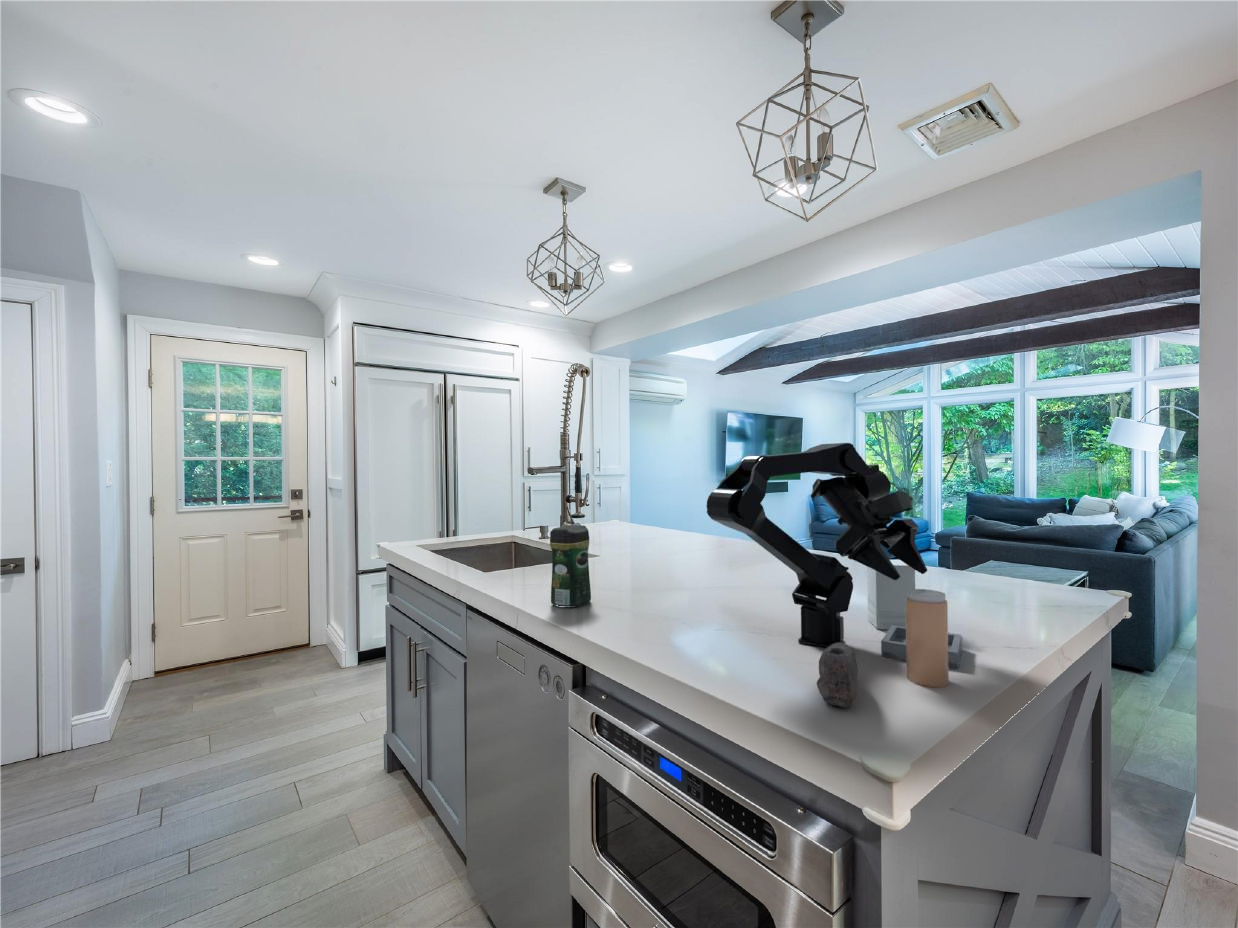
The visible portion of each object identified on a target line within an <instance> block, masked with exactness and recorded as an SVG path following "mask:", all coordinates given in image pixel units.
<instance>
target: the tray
mask: <svg viewBox="0 0 1238 928" xmlns="http://www.w3.org/2000/svg"><path fill="white" fill-rule="evenodd" d="M962 643H963V641H962V634H959V633H951V632H948V668H950V669H956V670H958V669H959V665H960V659H961V655H962V654H961V653H962V650H963V648H962V647H963V645H962ZM880 645H881V647H880V650H881V651H880V653H881V654H880V655H881V657H885V658H890V659H891V658H892V659H897V660H903V661H906V627H901V626H894V625H891V627H890V628H889V630H888V629H887V632H886V633H885V635H884V636H883V638H882V640H881V641H880Z"/></svg>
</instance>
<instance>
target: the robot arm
mask: <svg viewBox="0 0 1238 928" xmlns="http://www.w3.org/2000/svg"><path fill="white" fill-rule="evenodd" d="M879 465H880V464H867V463H866V461H865V460H864V459H863V457H861V455H860V453H859V452H858V451H857V450H856V447H854V444H853V443H850V442H840V443H839V442H838V443H822V444H819V445H815V446H812V447H810V448H808V449H806V450H805V451H804V450H803V451H799V452H798V451H797V452H790V453H779V454H778V453H777V454H770V455H769V454H768V455H747V456H745V457H744V458H743V459H742V460H741V461H740V462H739V464H738V466H737V467H736V468H735V469H734V470H732V471H731V473H729V474H728V475H727V476H726V477H725V478H723V479H722V480H721V481H720V483H719V484H718V486H717V487H716V489H714V490H713V491H712V492H711V493H710V494H709V495H708V497H707V500H706V514H707V516H709V518H710V519H711V520H712V521H714V522H717V523H719V524H720V525H723V526H725V527H727V528H730V529H732V530H735V531H737V532H740V533H743V534H744V535H746V536H748V537H749V538H750V539H751V540H753V541H754V542H755V543H756V544H758V545H759V546H760V547H762V548H763V549H764V550H766V551H767V552H768V553H770V554H771V555H772V556H773V557H775V558H776V559H777V560H778V561H780V562H781V563H783V564H784V565H785V566H786V567H788V568H789V569H791V571H793V572H794V573H795V574H796V577H797V580H798V584H797V586H796V587H795V589H793V591H792V593H791V597H792V600H793V603H794V605H799V606H800V637H799V638H798V639H797V641H798V643H800V644H804V645H805V644H806V645H811V646H816V647H817V646H818V647H823V648H827V647H829V646H830V645H831V644H834V643H838V642H841V643H843V642H842V641H844V639H845V631H844V630H845V627H844V626H845V625H844V624H845V623H844V621H845V620H844V617H843V616H842V615H841V613H844V612H848V611H849V606H850V602H851V598H852V595H853V590H854V581H853V576H852V574H851V573H850V572H849V571H848V570H849V567H848V566H845V565H843V564H842V563H841V562H840V560H839V559H838V558H836V557H835V556H831V555H825V554H821V553H814V552H810V551H809V550H808V549H807V548H805V547H804V546H803V545H801V544H800V543H799V542H798V541H797V540H796V539H794V538H793V537H792V536H790V535H789V534H788V533H787V532H785V531H784V530H783V529H782V528H780V527H779V526H778V525H776V523H774V522H773V521H772V520H771V519H769V518H768V517H767V516H766V512H765V508H764V506H763V505H762V501H763V500H764V498H765V497H766V492H767V485H768V482H769V480H770V479H771V478H772V477H780V476H788V475H790V476H791V475H797V474H806V473H812V474H820V475H821V474H822V475H830V476H832V478H827V479H820V478H817V479H816V480H815V481H814V483H813V484H812V491H811V495H810V497H811V498H812V499H815V498H819V497H821V498H822V499H823V500H824V501H825V502H826V503H827V505H828V506H829V507H830V508H831V509H832V511H833V512H834V513H835V514H836V515H837V516H838V517H839V518H838V519H837V521H836V522H837V523H838V524H839V526H846V527H847V528H846V529H845V530H844V531H843V532H842V533H841V534H840V535H839V536H838V537H837V538H836V539H835V540H834V549H835V550H836V551H837V552H838V553H837V554H839V555H840V556H841V557H842V558H843V557H847V559H849V560H852V561H855V562H857V563H859V564H861V565H863V566H866V568H867V567H869V568H871V569H874V570H876V571H877V572H879V573H881V574H883V575H885V576H887V577H889V578H891V579H893V580H897V579H899V578H900V575H899V573H898V571H897V570H896V568H895V567H894V565H893V564H892V563H891V561H890V560H891V559H889V557H888V556H887V555H886V553H885V551H884V550H883V548H885V549H887V553H889V554H890V555H892V556H893V557H895V558H897V560H901V561H902V562H904V563H905V564H907V565H908V566H910V567H911V568H913V569H915V572H918V573H920V574H921V575H924V574H926V573H927V572H928V568H927V566H926V564H925V562H924V560H923V557H922V555H921V553H920V551H919V550H918V549H919V548H918V547H917V545H916V537H917V534H918V529H919V525H918V524H917V523H916V522H915V521H914V520H913V519H912V518H899V519H898V518H897V519H895V518H894V516H896V515H899V514H901V513H904V512H910V511H912V510H913V509H914V507H913V506H912V502H913V501H914V498H913V496H910V495H909V493H908V492H907V491H903V490H901V489H899V490H896V491H894V492H891V488H892V485H891V481H890V480H889V477H888V476H887V475H886V473H884V472H883V471H881V470H880V466H879ZM745 487H746V488H745ZM744 488H745V489H744ZM890 492H891V493H890ZM881 545H882V546H881ZM882 547H883V548H882ZM819 597H820V598H819ZM823 598H824V599H823Z"/></svg>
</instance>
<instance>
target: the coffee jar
mask: <svg viewBox="0 0 1238 928" xmlns="http://www.w3.org/2000/svg"><path fill="white" fill-rule="evenodd" d="M549 546H550V550H551V556H552V558H551V559H552V561H551V562H552V564H551V584H550V585H551V589H550V603H551V604H552V605H553V604H555V605H558V606H577V607H579V606H578V605H580V604H582V605H585V604H587V603H589V602H590V601H591V600H592V590H591V589H592V588H591V579H590V567H589V566H590V565H589V547H590V531H589V528H587V526H586V525H578V524H570V525H569V524H568V525H563V526H559V527H558V526H557V527H555V528H552V530H550V532H549ZM588 601H589V602H588ZM584 603H585V604H584ZM555 605H554V606H555ZM580 606H581V605H580Z"/></svg>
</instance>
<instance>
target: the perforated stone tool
mask: <svg viewBox="0 0 1238 928" xmlns="http://www.w3.org/2000/svg"><path fill="white" fill-rule="evenodd" d="M818 675H819V677H818V680H817V681H816V686H817V690H818V692H819V695H820V696H821V698H822V700H823V701H824V702H825V703H827V704H829V705H831V706H836V707H842V708H844V709H845V708H849V707H850V706H852V704H853V703H854V701H855V699H856V697H857V693H858V685H859V665H858V661H857V658H856V655H855V652H853V650H852V648H851V647H850V646H849V645H848V644H847V643H844V642H838V643H834V644H831V645H830V646H829V647H825V649H824V650H823V652H822V653H821V654H820V657H819V660H818Z"/></svg>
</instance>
